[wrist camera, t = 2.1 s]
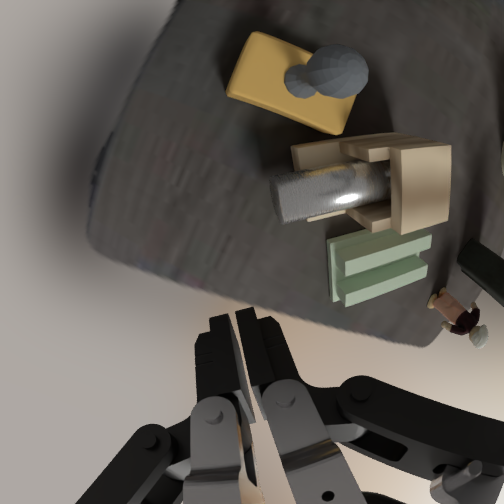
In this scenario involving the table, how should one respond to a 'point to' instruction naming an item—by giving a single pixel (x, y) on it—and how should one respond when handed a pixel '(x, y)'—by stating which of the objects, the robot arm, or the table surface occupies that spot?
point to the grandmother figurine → (460, 317)
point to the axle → (329, 189)
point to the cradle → (374, 263)
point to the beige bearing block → (402, 178)
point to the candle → (483, 268)
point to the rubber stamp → (299, 81)
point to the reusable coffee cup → (502, 159)
